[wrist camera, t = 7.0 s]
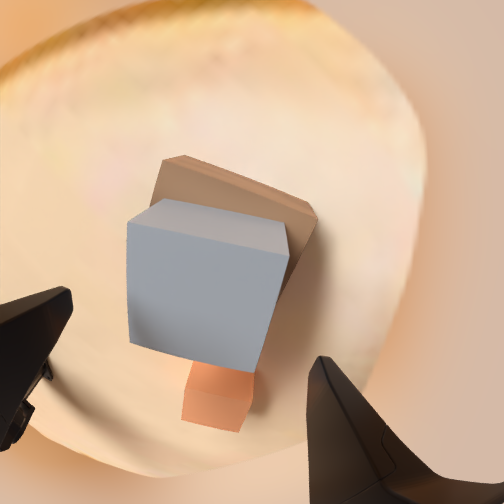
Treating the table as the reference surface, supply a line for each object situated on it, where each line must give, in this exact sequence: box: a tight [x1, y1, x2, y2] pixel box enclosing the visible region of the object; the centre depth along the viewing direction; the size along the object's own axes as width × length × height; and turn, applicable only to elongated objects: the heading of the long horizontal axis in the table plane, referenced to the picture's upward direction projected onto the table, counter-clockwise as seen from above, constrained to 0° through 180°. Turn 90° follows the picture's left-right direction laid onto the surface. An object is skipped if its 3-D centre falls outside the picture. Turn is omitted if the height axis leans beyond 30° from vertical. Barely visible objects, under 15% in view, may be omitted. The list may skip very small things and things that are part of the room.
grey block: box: [127, 198, 289, 373], centre depth 13 cm, size 6×6×4 cm
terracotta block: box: [181, 361, 255, 433], centre depth 21 cm, size 5×5×4 cm
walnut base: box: [149, 155, 318, 303], centre depth 16 cm, size 8×8×4 cm
